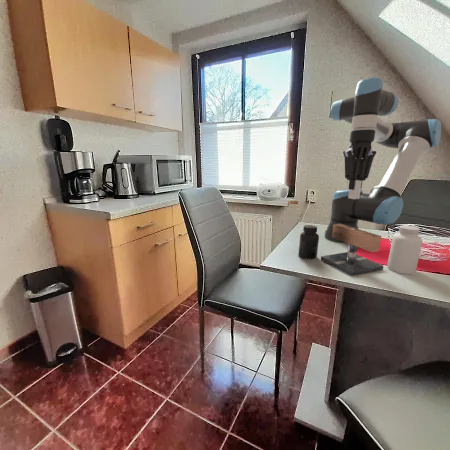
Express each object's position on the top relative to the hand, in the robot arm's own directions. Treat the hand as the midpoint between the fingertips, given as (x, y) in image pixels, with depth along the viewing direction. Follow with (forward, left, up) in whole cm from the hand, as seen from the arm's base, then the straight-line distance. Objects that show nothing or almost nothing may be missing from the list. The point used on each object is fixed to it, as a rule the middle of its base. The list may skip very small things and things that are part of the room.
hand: (353, 198), depth 90 cm
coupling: (+5, +7, -17) cm, 19 cm away
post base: (+6, +7, -22) cm, 24 cm away
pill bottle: (-7, +16, -23) cm, 29 cm away
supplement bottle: (+15, -4, -23) cm, 27 cm away
